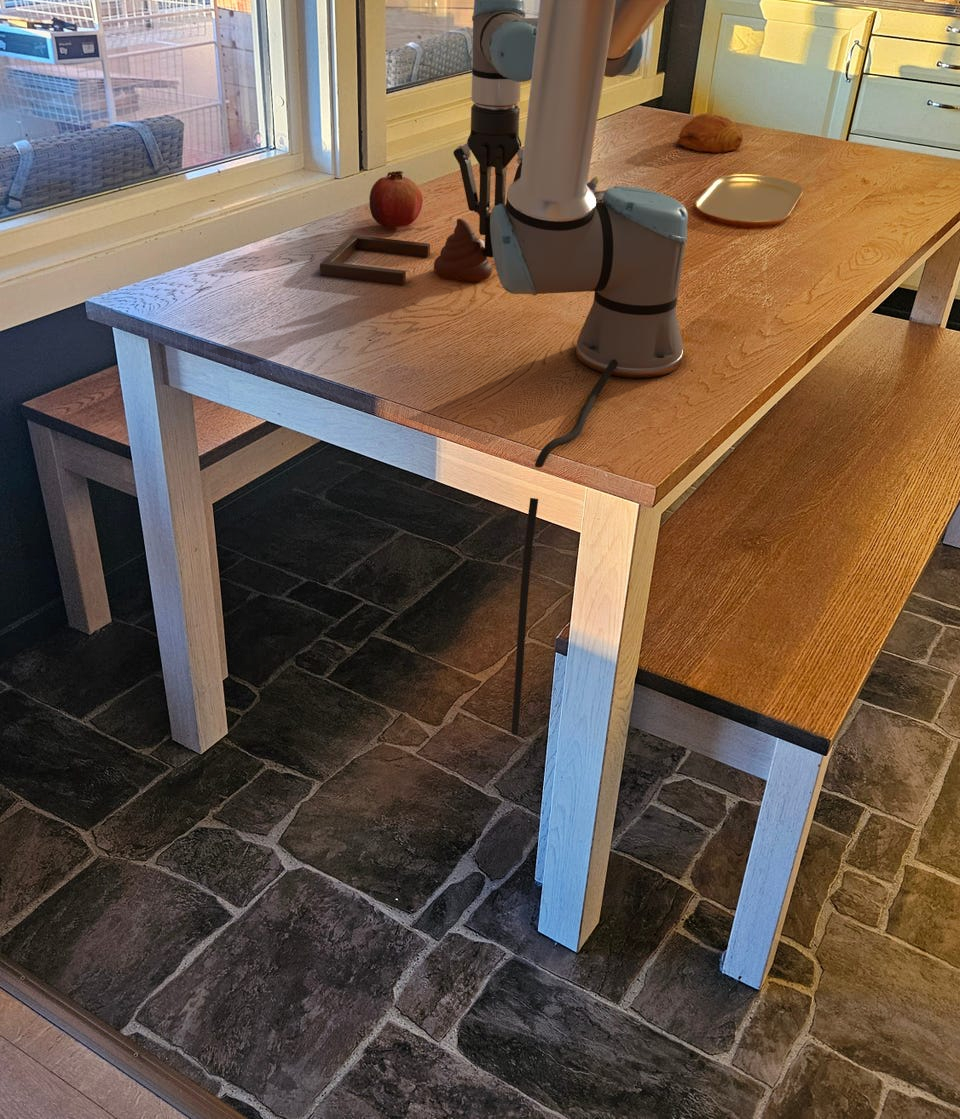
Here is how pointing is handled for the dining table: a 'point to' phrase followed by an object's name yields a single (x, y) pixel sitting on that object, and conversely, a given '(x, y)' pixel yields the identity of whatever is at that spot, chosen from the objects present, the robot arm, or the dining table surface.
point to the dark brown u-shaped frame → (338, 269)
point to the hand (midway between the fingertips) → (490, 254)
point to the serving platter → (749, 200)
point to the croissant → (710, 134)
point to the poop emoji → (463, 256)
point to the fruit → (395, 200)
